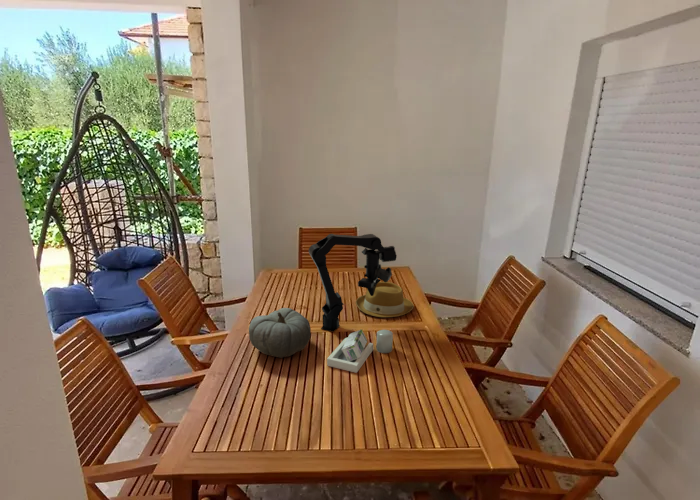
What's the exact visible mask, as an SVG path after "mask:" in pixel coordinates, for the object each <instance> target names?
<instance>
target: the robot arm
mask: <svg viewBox="0 0 700 500" xmlns="http://www.w3.org/2000/svg"><path fill="white" fill-rule="evenodd" d="M338 245H339V246H354V247H356V246H357V247H362V248H364V249H363V250H362V251H361V253H362V254H363V255H364V256H365V265H363V267H364V269H365V273H364V277H362V278H361V279H359V280H358V281H357V287H360V288H365V289H366V290H367V289H368V291H369V293H370V295H371V296H373V295H374V292H375V288H376V285H377V283H379V282H389V281H390V279H391V277H392V276H393V274H392V273H393V272H392V268H390V266H389V267H387V268H382V265H381V264H380V261H381V262H382V263H387V262H389V263H390V262H395V261H396V260H397V252H396V250H395V246H394V245H389V246H383V244H382V241H381V239H380V237H378V236H377V235H375V234H373V233H367V234H363V235H362V234H361V235H346V234H334V233H329V234H328V235H326V237H324V238H322V239H320V240H319V241H317V242H316V243H313V244H312V245H310V246H309V248H308V254H309V256H310V257H311V259H312V261H313V263H314V264H315V266H316V268H317V271H318V274H319V277H320V280H321V283H322V286H323V289H324V292H325V302H326V303H325V304H324V305H323V306H322V307H321V310H322V312H323V314H322V327H321V328H320V329H321V330H322V331H328V332H333V333H334V332H336V330H338V328H340V327H341V326H340V318H339V317H340V313H341V312H342V311H343V309H344V303H343V300H342V296H341V295H340V293H339V292H336V291H335V288H334V285H333V282H332V279H331V276H330V273H329V270H328V267H327V256H326V255H328V253H330V251H331V250H332V249H333V248H334V247H335V246H338Z"/></svg>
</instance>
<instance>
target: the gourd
mask: <svg viewBox="0 0 700 500" xmlns="http://www.w3.org/2000/svg"><path fill="white" fill-rule="evenodd" d="M311 335H312V334H311V324H310V321H309V320H308V319H307V318H306V317H305V316H304V315H302V313H300V312H298V311H296V310H294V309H292V308H289V307H282V308H279V309H278V310H273V311H272V312H270V313H269V314H268V315H267V314H266V315H265V314H264V315H257V316H254V318H252V319H251V321H250V324H249V326H248V336H249V341H250V343H251V345H252V346H253V347H254V348H255V349H256V350H257V351H259V352H261V353H262V354H264V355H267V356H272V357H276V358H279V359H281V358H282V359H283V358H285V357H291V356H292V355H294V354H296V353H297V352H301V351H302V350H303V349H305V348H306V347H307V345H308V344H309V342H310V339H311Z"/></svg>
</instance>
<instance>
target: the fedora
mask: <svg viewBox="0 0 700 500" xmlns="http://www.w3.org/2000/svg"><path fill="white" fill-rule="evenodd" d="M355 304H356V306H357V308H358V309H359V310H360V311H361V312H363V313H364V314H367V315H368V316H373V317H375V318H376V317H377V318H395V317H401V316H404V315H406V314H408V313H410V312H411V311H412V310H413V309H414V303H413V301H411V300H410V299H408V298H405V297H404V291H403V288H402V287H401V286H400V285H398V284H396V283H394V282H389V281H387V282H384V281H380V282H379V283H377V285H376V288H375V292H374V295H373V296H371V295H370V293H369V291H368V289H367V288H366V291H365V294H363V295H360V296H359V297H358V298H357V299H356V300H355Z"/></svg>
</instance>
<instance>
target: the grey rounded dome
mask: <svg viewBox="0 0 700 500" xmlns="http://www.w3.org/2000/svg"><path fill="white" fill-rule="evenodd" d="M393 335H394V333H393V332H392V331H391V330H388V329H380V330H378V331H377V332H376V345H375V346H376V349H375V350H376V351H377V352H379V353H382V354H389V353H391V352H392V351H393V337H394V336H393Z"/></svg>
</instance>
